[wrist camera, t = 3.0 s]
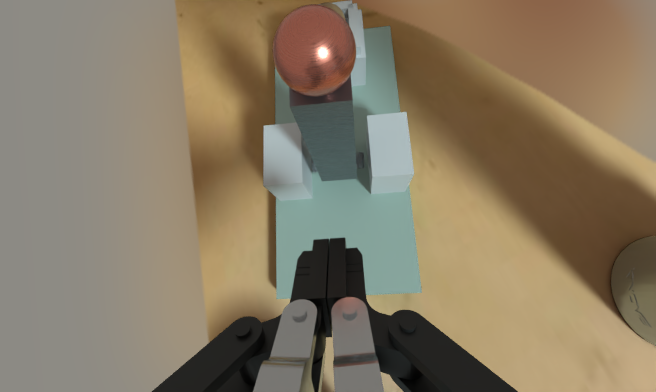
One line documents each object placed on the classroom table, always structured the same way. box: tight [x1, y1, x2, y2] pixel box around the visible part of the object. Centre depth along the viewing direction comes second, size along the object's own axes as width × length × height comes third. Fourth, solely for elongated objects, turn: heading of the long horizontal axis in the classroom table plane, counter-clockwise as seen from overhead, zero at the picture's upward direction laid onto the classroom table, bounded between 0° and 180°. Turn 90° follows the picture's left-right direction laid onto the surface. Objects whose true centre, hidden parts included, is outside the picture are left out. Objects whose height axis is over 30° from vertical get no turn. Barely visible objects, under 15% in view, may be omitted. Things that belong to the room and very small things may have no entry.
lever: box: [273, 5, 365, 181], centre depth 20 cm, size 4×4×16 cm
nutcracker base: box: [263, 0, 422, 299], centre depth 28 cm, size 12×26×7 cm, turn 3°
